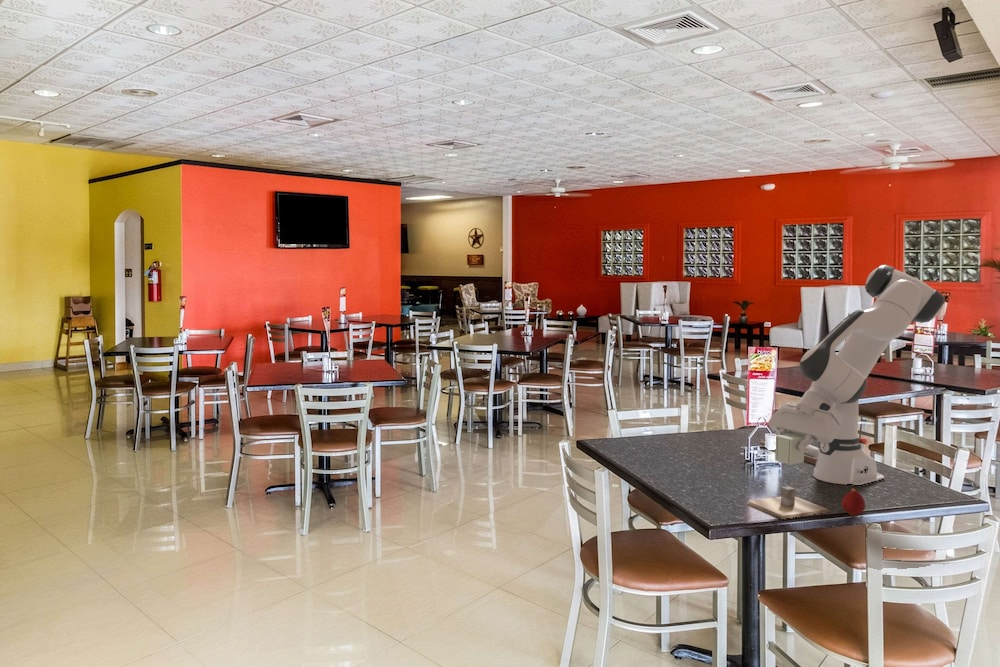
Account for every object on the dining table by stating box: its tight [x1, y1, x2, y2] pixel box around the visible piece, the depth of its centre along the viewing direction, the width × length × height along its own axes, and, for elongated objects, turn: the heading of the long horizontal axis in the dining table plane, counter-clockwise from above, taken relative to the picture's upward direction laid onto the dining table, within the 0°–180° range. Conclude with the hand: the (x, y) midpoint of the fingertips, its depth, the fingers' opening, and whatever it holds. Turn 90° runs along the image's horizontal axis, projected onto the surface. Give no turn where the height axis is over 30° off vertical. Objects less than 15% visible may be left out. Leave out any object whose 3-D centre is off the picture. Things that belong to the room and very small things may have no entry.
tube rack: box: [759, 440, 817, 465], centre depth 275 cm, size 11×28×2 cm, turn 22°
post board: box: [747, 486, 829, 520], centre depth 213 cm, size 16×14×6 cm
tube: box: [775, 431, 819, 458], centre depth 275 cm, size 5×5×25 cm
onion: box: [841, 488, 866, 518], centre depth 206 cm, size 6×6×8 cm
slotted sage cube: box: [774, 434, 805, 466], centre depth 211 cm, size 5×5×7 cm
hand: (788, 446), depth 211 cm, fingers closed on slotted sage cube, 5 cm apart
